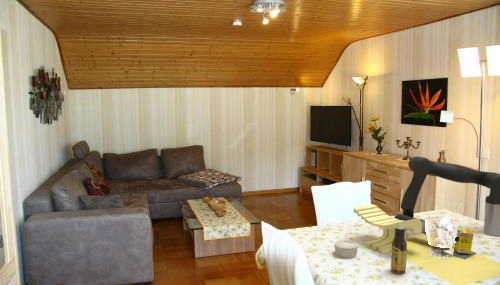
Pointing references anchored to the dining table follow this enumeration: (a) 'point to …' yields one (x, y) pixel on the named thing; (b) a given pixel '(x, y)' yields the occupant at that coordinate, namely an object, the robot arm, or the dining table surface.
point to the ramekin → (346, 249)
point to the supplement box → (464, 241)
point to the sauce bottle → (399, 251)
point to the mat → (463, 255)
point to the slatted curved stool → (385, 226)
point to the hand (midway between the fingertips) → (463, 237)
